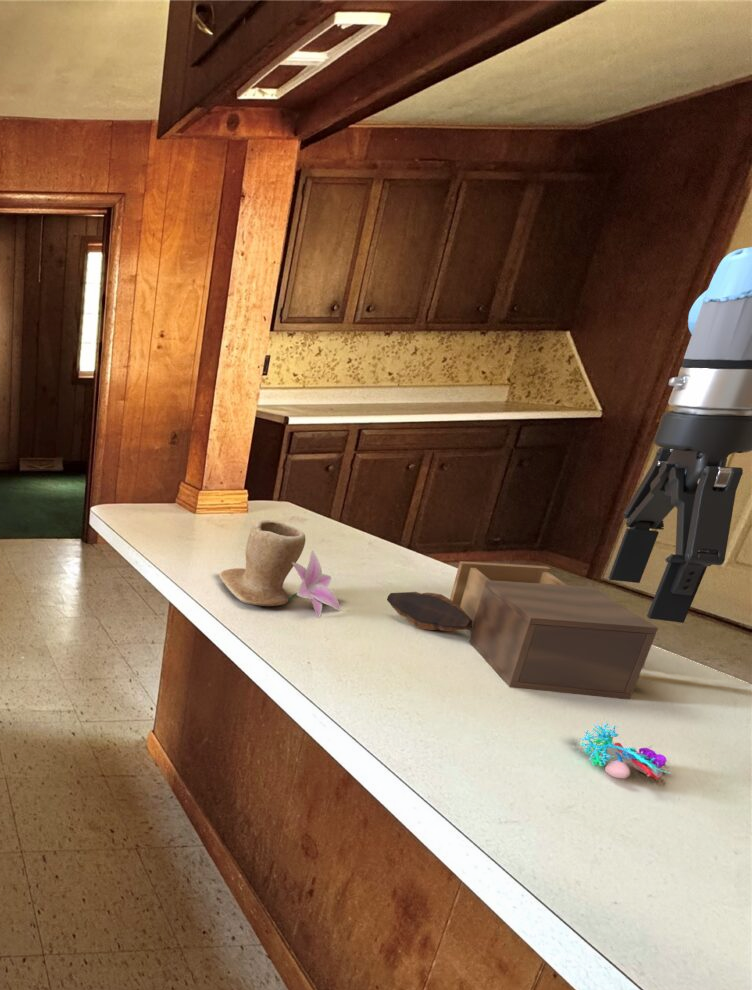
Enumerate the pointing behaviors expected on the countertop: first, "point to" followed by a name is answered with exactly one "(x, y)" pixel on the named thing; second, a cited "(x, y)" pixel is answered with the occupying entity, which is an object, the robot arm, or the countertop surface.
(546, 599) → the cabinet
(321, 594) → the lily
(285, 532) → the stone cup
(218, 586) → the countertop surface
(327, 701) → the countertop surface
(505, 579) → the drawer
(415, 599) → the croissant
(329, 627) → the countertop surface
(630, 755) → the anatomy model
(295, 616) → the countertop surface
